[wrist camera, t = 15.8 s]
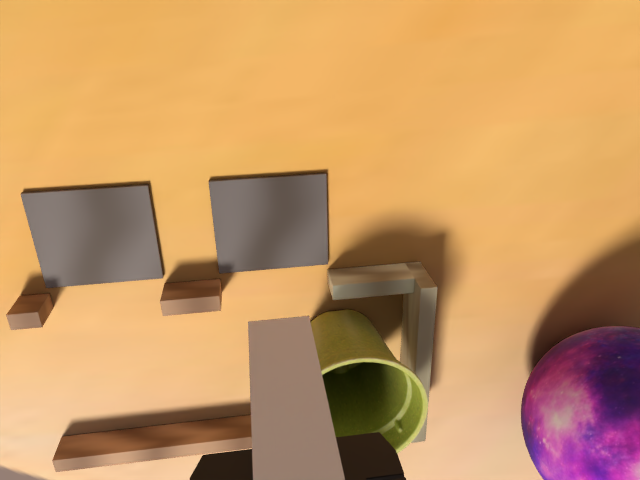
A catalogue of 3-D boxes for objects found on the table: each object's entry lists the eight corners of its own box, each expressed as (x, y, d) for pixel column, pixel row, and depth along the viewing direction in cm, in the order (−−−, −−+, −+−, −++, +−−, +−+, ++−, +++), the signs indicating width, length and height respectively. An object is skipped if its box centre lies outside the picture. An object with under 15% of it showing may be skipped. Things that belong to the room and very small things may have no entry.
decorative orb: (607, 257, 44) (773, 376, 30) (675, 363, 50) (838, 501, 36) (458, 365, 46) (550, 518, 33) (539, 453, 52) (645, 613, 39)
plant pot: (344, 403, 46) (366, 486, 38) (255, 354, 43) (259, 434, 35) (417, 326, 44) (456, 399, 36) (329, 268, 41) (351, 334, 33)
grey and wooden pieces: (65, 447, 44) (49, 488, 40) (-11, 194, 35) (-39, 217, 31) (411, 406, 47) (425, 441, 44) (426, 166, 38) (445, 184, 35)
